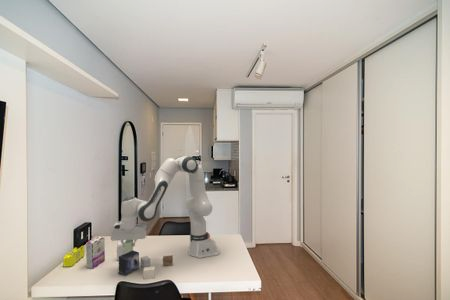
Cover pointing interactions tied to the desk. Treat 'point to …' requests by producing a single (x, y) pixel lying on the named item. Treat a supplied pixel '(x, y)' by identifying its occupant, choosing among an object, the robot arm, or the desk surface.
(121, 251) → the photo printer
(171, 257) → the walnut brick
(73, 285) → the desk surface
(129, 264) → the small box
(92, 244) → the candy bar box
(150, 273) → the cream brick
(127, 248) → the sage brick
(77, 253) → the yellow toy chassis
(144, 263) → the grey brick
